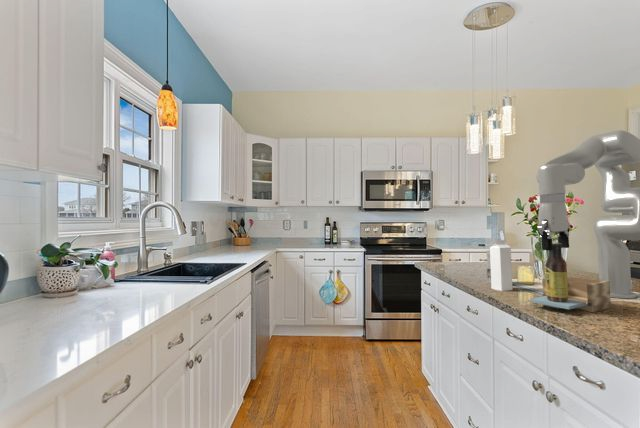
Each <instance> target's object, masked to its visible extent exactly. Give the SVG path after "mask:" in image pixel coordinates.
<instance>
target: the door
mask: <svg viewBox="0 0 640 428" xmlns="http://www.w3.org/2000/svg"><path fill="white" fill-rule="evenodd" d="M529 301H530V303H535V304H538V305H539V304H540V305H543V307H547V308H548V307H549V308H553V309H558V310H560V309H564V310H572V309H576V308H577V307H581V306H585V305H586V302H581V301H576V300H570V299H568V301H566V302H556V301H550V300H548V299H547V296H543V295H542V296H538V297H534V298H530V300H529Z"/></svg>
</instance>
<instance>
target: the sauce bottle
mask: <svg viewBox="0 0 640 428" xmlns="http://www.w3.org/2000/svg"><path fill="white" fill-rule="evenodd" d="M552 246H553V250H552V251H549V250H548V257H547V260H546V261H545V264H544V270H545V271H544V273H545V276H544V278H546V295H547V299H548V300H550V301H556V302H566V301H568V281H567V276H568V270H567V269H568V268H567V262H566V260H565V259H564V257H562V256H563V252H562V249H563V248H562V243H558V242H552Z"/></svg>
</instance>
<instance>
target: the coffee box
mask: <svg viewBox="0 0 640 428" xmlns="http://www.w3.org/2000/svg"><path fill="white" fill-rule="evenodd" d="M486 271H487V272H486V273H487V278H486V279H487V284H489V285H491V264H490V250H486Z"/></svg>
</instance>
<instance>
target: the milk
mask: <svg viewBox="0 0 640 428" xmlns="http://www.w3.org/2000/svg"><path fill="white" fill-rule="evenodd" d="M489 251H490V264H491V284H490V285H491V290H495V291H500V292H505V291H508V292H509V291H513V268H512V265H513V264H512V247H511V246H510V245H509V244H507V243H506V240H505V239H498V240H497V239H495V240H494V242H493V244H492V245H491V246H489Z"/></svg>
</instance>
